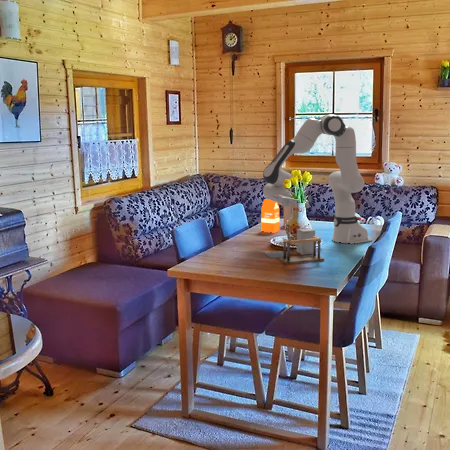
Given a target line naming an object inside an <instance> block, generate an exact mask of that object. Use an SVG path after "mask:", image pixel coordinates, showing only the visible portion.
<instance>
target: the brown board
mask: <svg viewBox="0 0 450 450" xmlns="http://www.w3.org/2000/svg"><path fill="white" fill-rule="evenodd" d="M279 261H280V262H282V263H283V264H284V265H296V264H307V263H316V261H319V262H325V258H324V257H323V256H321V255H320V258H318V254H316V256H313V254H306V255H297V256H290V261H287V257H286V259H284V258H279Z"/></svg>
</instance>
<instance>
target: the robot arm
mask: <svg viewBox="0 0 450 450" xmlns="http://www.w3.org/2000/svg"><path fill="white" fill-rule="evenodd" d="M344 122H345V121H344V120H343V118H342V117H340V116H339V115H337V114H331V113H330V114H326V115H323V116H321V117H320V118H319V119H316V118H313V117H310V118H307V119H306V120H305V121H304V122H303V124H301V126H300V127H299V130H298V131H297V132H296V134H295V136H294V137H293V138H292V139H290V140H288V141H287V142H286V143H285V144H283V146H282V148H280V150H279V151H278V152H277V154H276V155H275V157H274V158H273V159H272V160H271V162H270V163H269V164H268V165H267V166H266V167H265V168H264V170H263V172H262V175H263V176H262V177H263V180H264V182H265V183H266V184H265V185H264V186H263V188H262V193H263V195H264V197H265V199H269V200H271V201H274V202H277V203H278V205H281V206H283V207H284V206H285V207H286V206H292V205H293V206H295V207H298V206H297V201H299V200H298V199H294V198H291V196H290V193H292V194H294V192H292V191H291V190H290V188H289V189H286V188H285V187H284V185H283V182H284V180H285V179H290V178H291V175H292V174H291V173H290V172H288V171H286V170H284V169H282V166H283V165H284V164H285V163H286V161H287V160H288V158H289V157H290V156H291V155H294V154H306V153H309V152H310V151H311V150H312V148H313V147H314V145H315V143H316V141H317V139H318V138H319V137H320V136H321V135H322V134H323V135H328V136H333V137H334V141H335V162H336V164H337V166H338V168H339V170H337V171H333V172H331V173H330V174H329V176H328V179H327V183H328V186H330V188H331V190H332V195H333V198H334V215H333V217H334V218H333V219H334V220H333V226H334V228H333V235H332V238H331V241H332V240H333V241H332V242H334V241H335V243H339V242H341V243H340V244H348V243H350V245H354V243H355V244H361V243H368V242H372V241H373V238H372V237H370V236H369V233H368V229H367V228H366V227H365V226H364V225H362V224H360V223H359V222H361V221H362V217H360V216H356V201H355V199H354V198H353V196H352V194H354V193H359V192H361V191H362V190H363V189H364V187H365V179H364V177H363V176H362V175H361V173H360V171H359V167H358V162H357V141H356V131H355V130H354V129H355V128H353V127H352V126H347V125H346V124H345V123H344ZM309 203H310V201H309V200H307V199H306V203H305V207H304V208H307V209H309V208H310V204H309ZM358 221H359V222H358Z"/></svg>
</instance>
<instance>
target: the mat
mask: <svg viewBox="0 0 450 450" xmlns="http://www.w3.org/2000/svg"><path fill="white" fill-rule="evenodd" d="M263 254H264V255H265V256H267V257H268V258H270V259H280V258H284V250H283V251H273V252H271V251H270V252H264V253H263ZM286 257H287V253H286Z"/></svg>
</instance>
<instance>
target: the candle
mask: <svg viewBox="0 0 450 450" xmlns="http://www.w3.org/2000/svg"><path fill="white" fill-rule="evenodd" d="M290 217H291V206H286V207H285V206H283V227H285V224H286V223H287V220H289V219H290Z"/></svg>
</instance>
